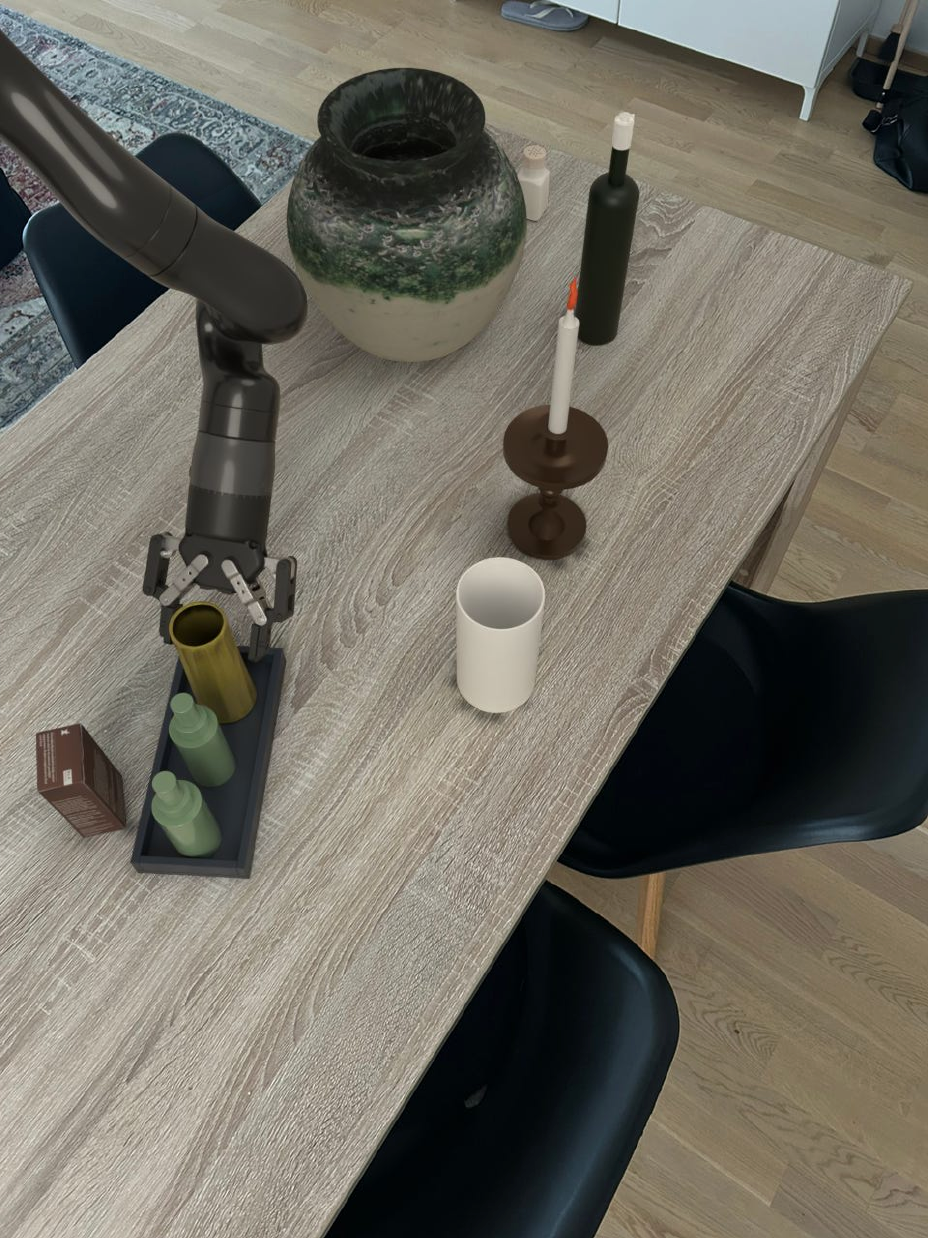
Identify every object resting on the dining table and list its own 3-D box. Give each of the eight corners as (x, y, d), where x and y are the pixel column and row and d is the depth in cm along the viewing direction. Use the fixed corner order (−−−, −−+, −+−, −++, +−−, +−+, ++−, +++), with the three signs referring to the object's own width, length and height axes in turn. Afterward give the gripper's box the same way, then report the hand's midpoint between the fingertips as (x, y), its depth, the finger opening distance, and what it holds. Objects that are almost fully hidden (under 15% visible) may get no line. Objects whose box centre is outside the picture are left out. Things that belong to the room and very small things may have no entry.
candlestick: (524, 478, 123) (543, 226, 94) (608, 512, 121) (655, 263, 91) (482, 544, 118) (489, 299, 89) (569, 580, 116) (606, 340, 86)
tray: (137, 873, 98) (129, 863, 95) (187, 656, 110) (181, 642, 108) (249, 879, 97) (244, 869, 95) (286, 661, 110) (282, 647, 108)
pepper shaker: (548, 207, 151) (553, 147, 143) (538, 223, 149) (542, 163, 141) (523, 200, 151) (526, 140, 143) (512, 216, 149) (515, 156, 141)
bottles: (170, 860, 98) (131, 805, 86) (195, 745, 104) (162, 679, 92) (217, 863, 97) (184, 807, 86) (239, 747, 104) (211, 681, 92)
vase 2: (519, 258, 145) (531, 41, 119) (521, 409, 129) (535, 197, 104) (315, 255, 145) (284, 39, 119) (293, 405, 130) (252, 194, 104)
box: (76, 784, 102) (33, 730, 92) (123, 775, 103) (85, 720, 93) (79, 842, 99) (35, 792, 89) (126, 831, 100) (88, 781, 90)
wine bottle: (623, 341, 136) (659, 126, 110) (581, 349, 135) (608, 134, 110) (609, 311, 139) (641, 96, 113) (567, 319, 138) (591, 103, 113)
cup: (519, 636, 112) (527, 547, 98) (546, 700, 108) (558, 617, 94) (446, 656, 110) (444, 569, 97) (470, 722, 106) (471, 641, 93)
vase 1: (269, 696, 107) (245, 622, 95) (223, 736, 104) (192, 665, 92) (230, 661, 109) (202, 585, 97) (185, 699, 107) (149, 625, 95)
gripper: (317, 494, 99) (295, 656, 103) (176, 467, 101) (160, 628, 104) (291, 502, 92) (269, 676, 95) (140, 473, 93) (124, 645, 97)
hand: (212, 651), depth 100 cm, fingers open, 8 cm apart
